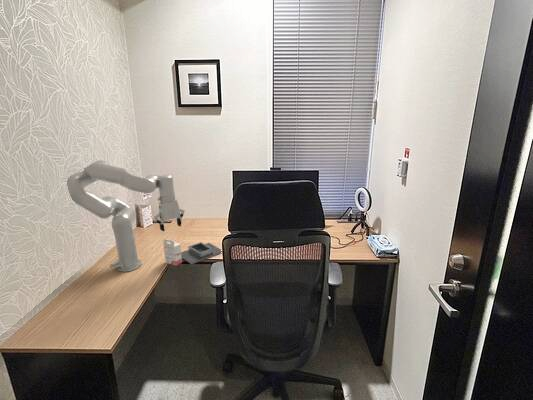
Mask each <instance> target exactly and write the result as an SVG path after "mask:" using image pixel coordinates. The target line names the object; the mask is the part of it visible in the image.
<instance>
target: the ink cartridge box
mask: <svg viewBox="0 0 533 400" xmlns="http://www.w3.org/2000/svg"><path fill="white" fill-rule="evenodd" d="M163 250H164V251H163V252H164V261H165V264H169V265H171V266H175V267H177V266H179V265H180V264H182V263H183V258H182V256H181V252H182V249H181V243H179V242H178V243H177V242H176V241H175V242H174V240H173V241H172V240H170V239H167V238H163Z"/></svg>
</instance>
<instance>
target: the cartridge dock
mask: <svg viewBox="0 0 533 400" xmlns="http://www.w3.org/2000/svg"><path fill="white" fill-rule="evenodd" d="M187 247H188V249H187V250H184V251H181V256H182V260H184V261H186V262H187V263H189V265H194V264H197V263H200V262H202V261H205V260H208V259H210V258H213V257H215V256H214V255H216V256H218V255H221V254H222V253H221V252H222V251H221V250H222V249H221V248H219V247H218V246H216V245H214V244H212V243H210V242H208V243H203V242H202V241H200V242H198V243H195V244H192V245H189V246H187ZM220 253H221V254H220ZM212 256H213V257H212ZM209 257H210V258H209ZM207 258H208V259H207Z"/></svg>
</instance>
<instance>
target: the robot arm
mask: <svg viewBox="0 0 533 400" xmlns="http://www.w3.org/2000/svg"><path fill="white" fill-rule="evenodd" d="M83 169H84V171H82V172H78V171H77V172H78V173H76V172H74V173H75V174H73V173H72V174H73V175H71V174H70V175H71V176H70V177H69V178H68V180H67V186H68V190H69V193H70V196H71V198H72V200H73V201H74V202H75V203H74V202H73V203H74V204H76V205H78V206H80V207H82V208H83V209H85V210H86V211H88V212H90V213H92V215H95V216H96V217H98V218H100V219H102V220H103V219H108V218H109V217H112V220H111V228H112V230H113V234H114V240H115V246H116V250H117V251H116V252H117V257H118V259H117V260H116V262H114V263H111V264H109V268H110V269H112V268H113V269H117V271H119V272H126V273H127V272H132V271H135V270H137V269H139V268H140V267H141V266H142V260H140V259H139V257H138V249H137V244H136V235H135V232H134V229H133V223H134V222H135V220H136V218H137V213H136V211H135V209H134V208H132V207H131V206H130V205H127V204H126V203H125V202H123V201H121V200H119V199H118V198H116V197H113V196H111V195H110V196H104V197H100V196H99V195H96V194H95V193H93V192H90V191H88V190H86V189H84V188H86V187H88V186H89V185H91V184H93V183H95V182H97V181H101V182H106V183H110V184H114V185H120V186H121V187H123V188H126V189H128V190H129V191H134V192H138V193H143V194H152V193H153V192H155V190H156V189H158V194H159V197H158V198H157V201H158V203H159V204H158V213H157V214H156V215H155V216H153V220H154V221H155V222H156V223H157V224H159V229H160V231H162V232H165V231H166V230H165V224H164V222H167V221H171V220H174V219H176V224H177V226H178V227H182V219H183V217H184V213H185V210H184V209H181V208H180V205H179V202H178V200H177V199H176V194H175V185H174V178H173V176H172V175H171V174H162V175H157V174H149V175H146V177H141V176H135V175H133V174H131V173H130V172H128V171H127V170H126V168H122V167H119V166H114V165H111V164H110V162H107V161H106V160H103V159H102V160H99V159H98V160H96V161H94V162H92V163H90V164H89V165H88V166H86V167H84V168H83Z"/></svg>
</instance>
